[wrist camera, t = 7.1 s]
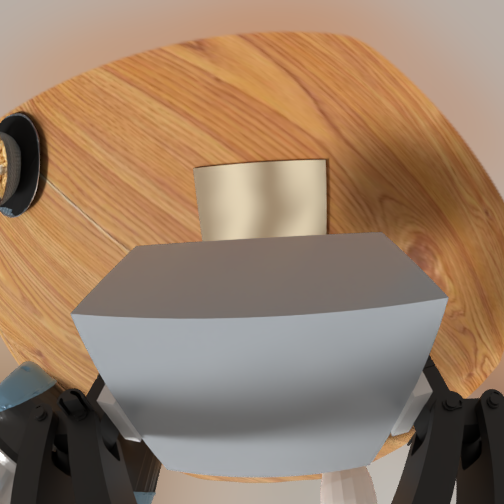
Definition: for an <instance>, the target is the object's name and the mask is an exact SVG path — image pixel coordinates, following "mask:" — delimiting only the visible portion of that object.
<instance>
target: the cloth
mask: <svg viewBox="0 0 504 504" xmlns="http://www.w3.org/2000/svg"><path fill="white" fill-rule="evenodd" d="M193 171H194V180H195V188H196V197H197V204H198V212H199V220H200V227H201V234H202V241H218V240H234V239H251V238H269V237H287V236H306V235H326V224H327V198H326V160H288V161H268V162H252V163H239V164H228V165H217V166H208V167H199V168H193Z"/></svg>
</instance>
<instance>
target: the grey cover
mask: <svg viewBox="0 0 504 504" xmlns="http://www.w3.org/2000/svg"><path fill="white" fill-rule="evenodd" d="M447 301H448V296H447V295H446V294H445V293H444V292H443V291H442V290H441V289H440V288H439V287H438V286H437V285H436V284H435V283H434V282H433V281H432V280H431V279H430V278H429V276H428V275H427V274H426V273H425V272H424V271H423V270H422V269H421V268H420V267H419V266H418V265H416V264H415V263H414V262H413V261H412V260H411V259H410V258H409V257H408V256H407V255H406V254H405V253H404V252H403V251H402V250H401V249H400V248H399V247H398V246H397V245H396V244H394V243H393V242H392V241H391V240H390V239H389V238H388V237H387V236H386V235H385V234H383V233H382V232H370V233H348V234H326V235H306V236H287V237H269V238H251V239H234V240H218V241H202V242H187V243H172V244H158V245H144V246H136V247H135V248H134V249H133V250H132V251H131V252H129V253H128V254H127V255H126V256H125V257H124V258H123V259H122V260H121V261H120V262H119V263H118V264H117V265H116V266H115V267H114V268H113V269H112V270H111V271H110V272H109V273H108V274H107V275H106V276H105V277H104V278H103V279H102V280H101V281H100V282H99V283H98V285H97V286H96V287H95V288H94V289H93V290H92V291H91V292H90V293H89V294H88V295H87V296H86V297H85V298H84V299H83V300H82V301H81V303H80V304H79V305H78V306H77V307H76V308H75V309H74V310H73V311H72V312H71V316H72V319H73V321H74V323H75V326H76V328H77V330H78V332H79V334H80V336H81V339H82V341H83V343H84V345H85V347H86V349H87V351H88V353H89V355H90V357H91V358H92V360H93V362H94V364H95V366H96V368H97V370H98V371H99V373H100V375H101V377H102V378H103V380H104V382H105V384H106V385H107V387H108V389H109V390H110V392H111V394H112V395H113V397H114V398H115V399H116V401H117V402H118V404H119V405H120V407H121V408H122V410H123V411H124V413H125V414H126V416H127V417H128V419H129V420H130V422H131V423H132V425H133V426H134V427H135V429H136V430H137V432H138V433H139V434H140V436H141V437H142V439H143V440H144V442H145V443H146V444H147V446H148V447H149V448H150V449H151V451H152V452H153V453H154V454H155V456H156V457H157V458H158V459H159V460H160V462H161V463H162V464H163V465H164V466H165V468H166V469H167V470H173V471H179V472H186V473H194V474H202V475H213V476H228V477H285V476H300V475H311V474H320V473H327V472H334V471H341V470H347V469H352V468H357V467H362V466H367V465H370V464H371V462H372V461H373V460H374V458H375V457H376V455H377V454H378V452H379V451H380V449H381V447H382V446H383V444H384V443H385V441H386V439H387V438H388V436H389V435H390V433H391V430H392V428H393V427H394V425H395V423H396V421H397V420H398V418H399V416H400V414H401V412H402V410H403V408H404V406H405V405H406V403H407V401H408V399H409V397H410V395H411V393H412V391H413V390H414V388H415V386H416V384H417V382H418V379H419V377H420V375H421V373H422V370H423V368H424V366H425V363H426V361H427V359H428V356H429V354H430V351H431V348H432V346H433V343H434V341H435V338H436V335H437V332H438V329H439V326H440V323H441V320H442V317H443V314H444V311H445V308H446V304H447Z"/></svg>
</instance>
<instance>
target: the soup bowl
mask: <svg viewBox="0 0 504 504" xmlns="http://www.w3.org/2000/svg"><path fill="white" fill-rule="evenodd" d="M39 169H40V139H39V135H38V132H37V130H36V128H35V126H34V124H33V122H32V121H31V120H30V118H29V117H28V116H27V115H25V114H23V113H15V114H12V115H10V116H7V117H6V118H5V119H4V120H3V121H2V122H1V123H0V212H1V213H2V214H3V215H4V216H7V217H10V218H12V217H18V216H20V215H21V214H22V213H24V212H25V211H26V210H27V209H28V207H29V206H30V204H31V202H32V201H33V198H34V197H35V194H36V191H37V188H38V179H39V171H40V170H39Z"/></svg>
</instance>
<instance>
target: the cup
mask: <svg viewBox="0 0 504 504" xmlns="http://www.w3.org/2000/svg"><path fill="white" fill-rule="evenodd" d="M320 491H321V492H320V493H321V504H377V499H376V494H375V490H374V486H373V482H372V479H371V476H370V474H369V472H368V470H367V468H366V466H362V467H357V468H352V469H347V470H341V471H334V472H327V473H323V474H322V481H321V489H320Z"/></svg>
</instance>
